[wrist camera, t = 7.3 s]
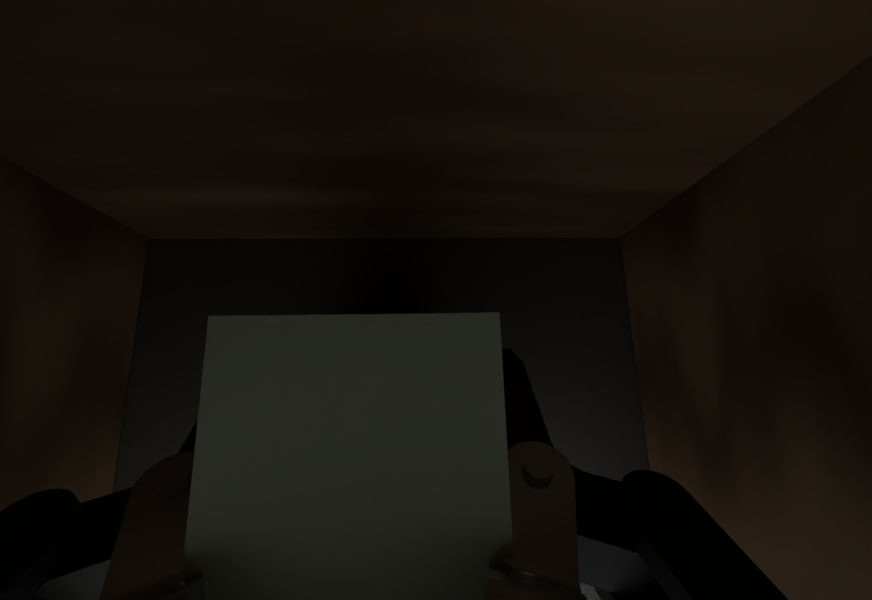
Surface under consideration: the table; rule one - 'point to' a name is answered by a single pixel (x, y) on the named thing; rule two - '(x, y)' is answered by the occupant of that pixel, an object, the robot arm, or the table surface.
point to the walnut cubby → (473, 209)
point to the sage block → (350, 458)
